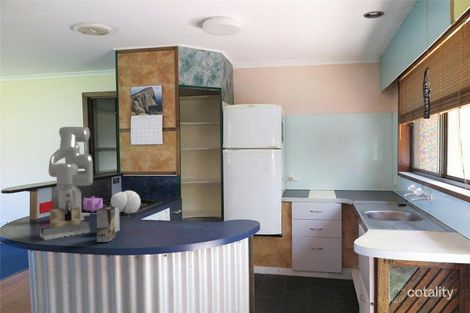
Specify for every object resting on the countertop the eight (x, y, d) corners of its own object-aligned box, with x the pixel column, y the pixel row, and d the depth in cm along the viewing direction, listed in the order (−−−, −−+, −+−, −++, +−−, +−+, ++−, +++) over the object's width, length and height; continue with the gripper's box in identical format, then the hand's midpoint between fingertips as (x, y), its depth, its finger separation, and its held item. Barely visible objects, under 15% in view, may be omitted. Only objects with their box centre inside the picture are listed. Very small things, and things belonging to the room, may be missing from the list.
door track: (84, 229, 189) (84, 220, 189) (89, 232, 182) (89, 223, 182) (40, 236, 174) (40, 227, 174) (44, 240, 167) (44, 230, 167)
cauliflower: (134, 210, 247) (133, 188, 247) (145, 214, 234) (145, 190, 234) (107, 214, 234) (107, 191, 233) (117, 218, 221) (117, 193, 220)
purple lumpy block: (79, 213, 238) (79, 198, 238) (83, 210, 251) (83, 195, 251) (102, 212, 241) (102, 197, 241) (105, 209, 255) (105, 195, 254)
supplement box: (120, 231, 184) (119, 208, 184) (110, 234, 177) (110, 210, 177) (109, 230, 187) (108, 207, 187) (99, 233, 180) (99, 210, 180)
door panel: (78, 228, 184) (77, 206, 184) (80, 229, 182) (79, 207, 181) (50, 232, 174) (49, 209, 174) (51, 233, 172) (51, 210, 172)
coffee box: (110, 242, 161) (109, 209, 161) (96, 243, 161) (96, 209, 160) (115, 237, 170) (115, 206, 170) (102, 238, 170) (102, 206, 170)
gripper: (77, 188, 174) (78, 220, 174) (67, 185, 186) (67, 216, 187) (62, 189, 169) (62, 222, 169) (52, 186, 181) (53, 218, 182)
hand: (65, 219), depth 178 cm, fingers open, 9 cm apart
